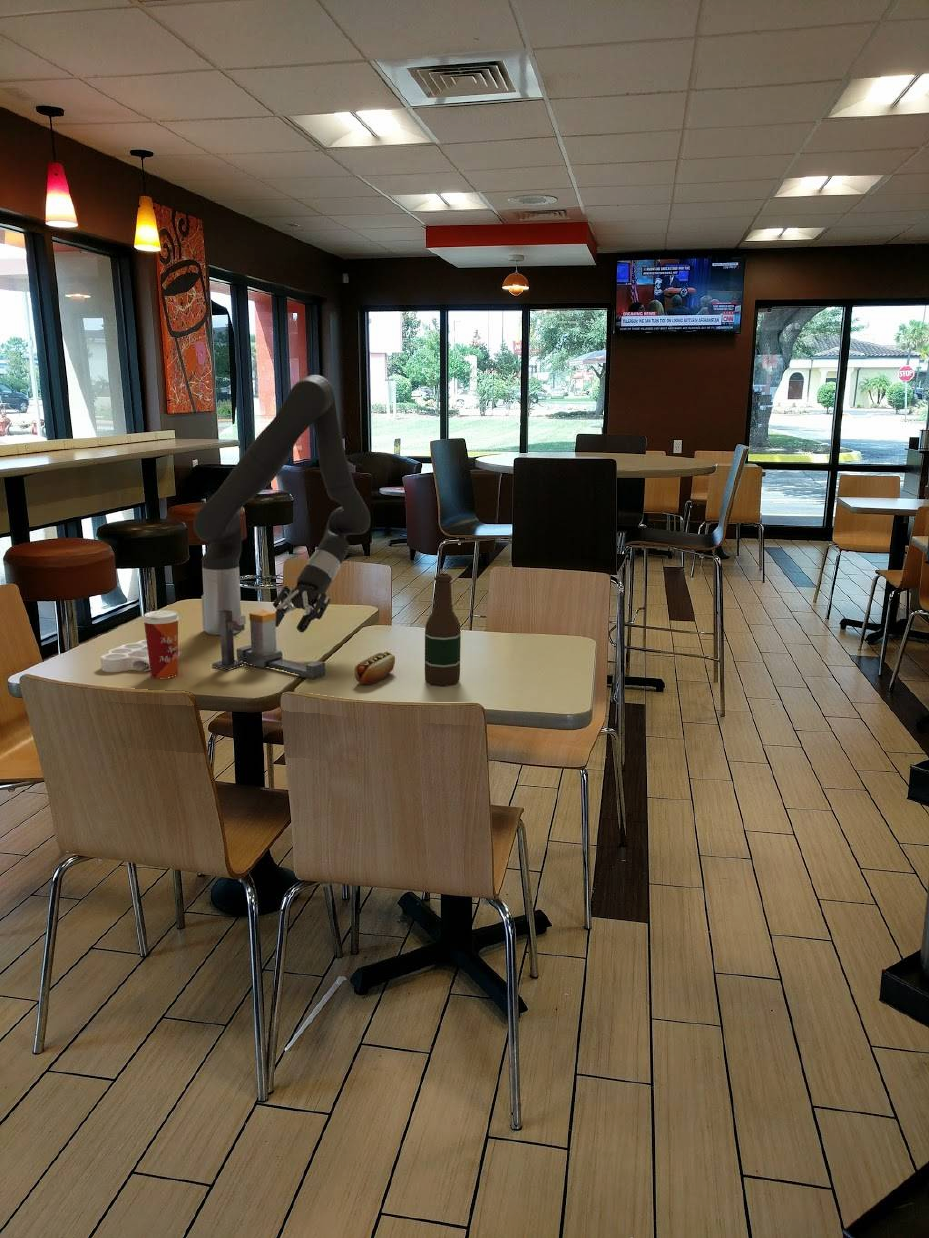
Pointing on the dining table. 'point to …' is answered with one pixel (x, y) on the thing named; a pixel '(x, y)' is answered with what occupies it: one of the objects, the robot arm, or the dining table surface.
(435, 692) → the dining table surface
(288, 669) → the rail
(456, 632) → the beer bottle
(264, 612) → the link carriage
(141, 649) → the white tray with holes
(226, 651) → the hook
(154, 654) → the paper cup
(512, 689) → the dining table surface
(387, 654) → the hot dog
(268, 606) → the dining table surface
